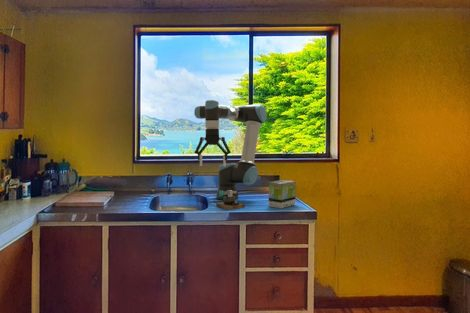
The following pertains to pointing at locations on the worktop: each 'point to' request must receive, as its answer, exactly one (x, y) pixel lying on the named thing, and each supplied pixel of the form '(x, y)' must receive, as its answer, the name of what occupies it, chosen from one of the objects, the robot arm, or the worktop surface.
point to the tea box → (282, 193)
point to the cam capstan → (229, 198)
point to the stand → (230, 207)
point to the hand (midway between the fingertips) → (212, 166)
